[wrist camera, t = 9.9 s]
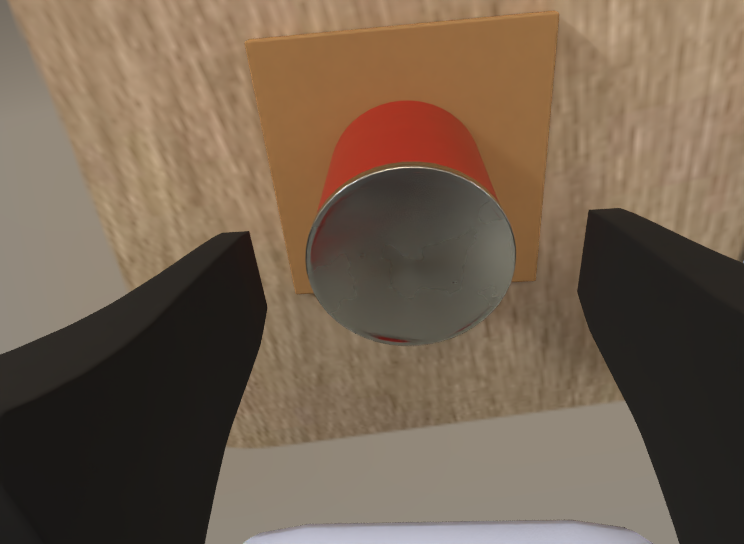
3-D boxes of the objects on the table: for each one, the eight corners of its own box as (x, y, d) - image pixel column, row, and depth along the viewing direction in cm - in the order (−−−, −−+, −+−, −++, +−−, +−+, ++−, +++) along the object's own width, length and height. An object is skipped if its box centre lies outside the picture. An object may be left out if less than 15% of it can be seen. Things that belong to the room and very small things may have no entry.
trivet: (533, 274, 18) (535, 281, 17) (297, 288, 18) (295, 295, 18) (555, 10, 13) (560, 12, 13) (247, 39, 14) (244, 42, 14)
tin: (481, 238, 17) (511, 341, 12) (338, 247, 17) (320, 351, 13) (484, 91, 14) (523, 157, 10) (318, 104, 15) (288, 174, 10)
